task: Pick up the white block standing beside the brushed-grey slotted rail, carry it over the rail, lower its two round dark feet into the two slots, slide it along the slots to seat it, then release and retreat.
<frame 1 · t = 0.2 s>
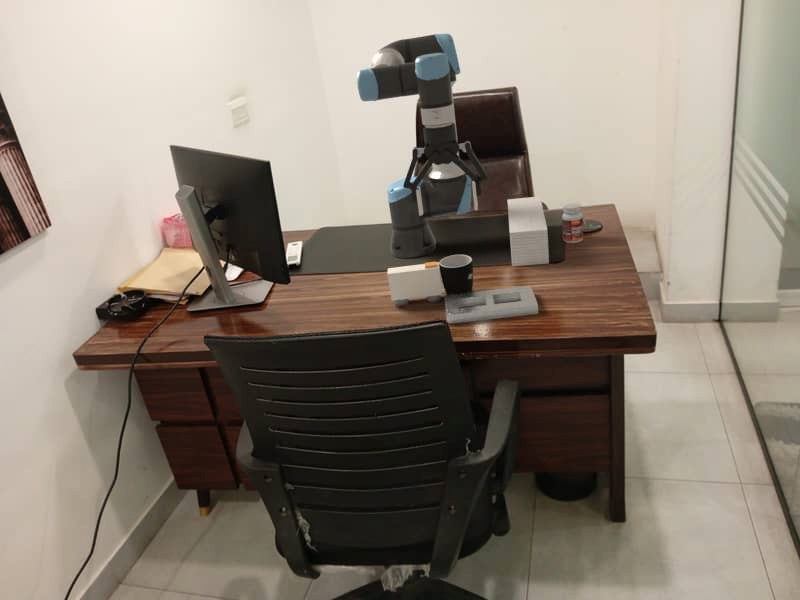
hand: (448, 211, 165), 27 cm above the table, fingers open, 13 cm apart
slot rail: (490, 308, 174), on the table
mug: (460, 293, 186), on the table
stack of papers: (528, 246, 211), on the table
white block: (417, 300, 185), on the table
pill bottle: (573, 240, 209), on the table
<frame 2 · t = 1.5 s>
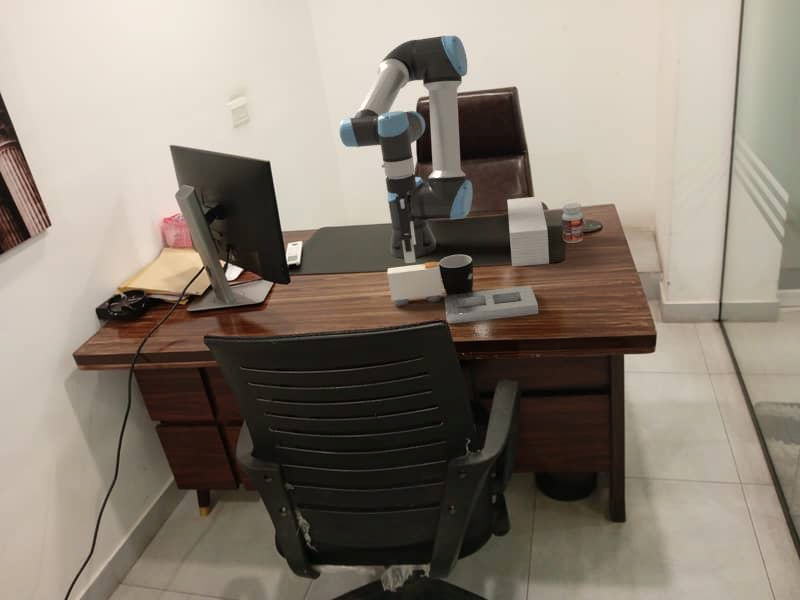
hand: (410, 253, 179), 14 cm above the table, fingers open, 13 cm apart
nothing on the table moved.
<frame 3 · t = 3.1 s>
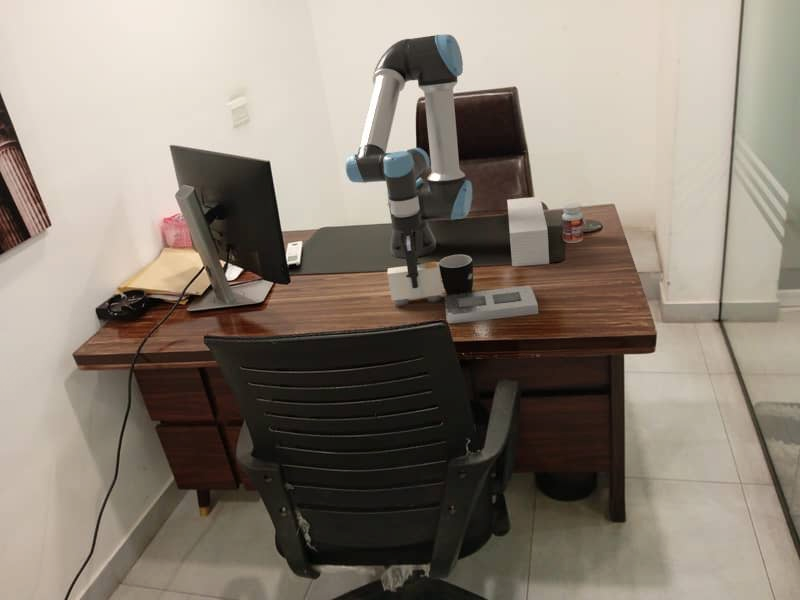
hand: (416, 293, 184), 2 cm above the table, fingers closed on white block, 4 cm apart
white block: (417, 300, 185), on the table, touching gripper
everything else where it was.
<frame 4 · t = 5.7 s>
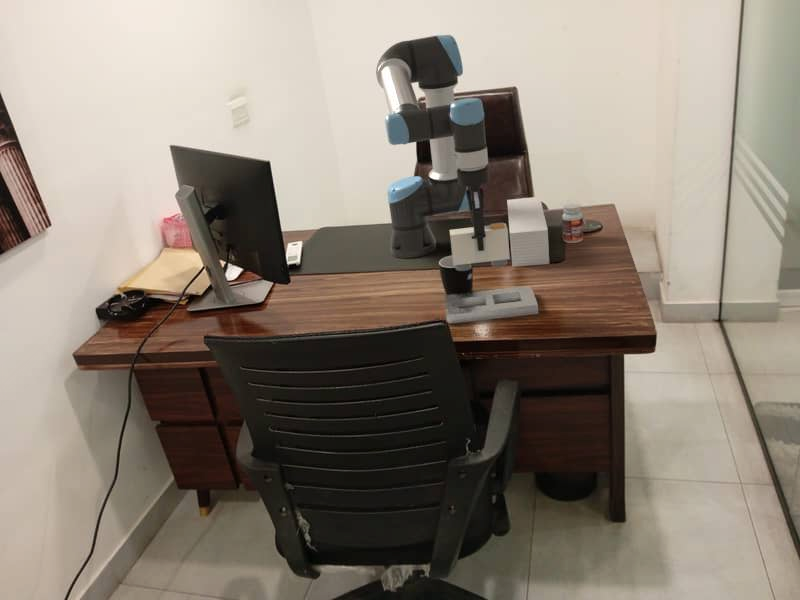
hand: (481, 257, 168), 14 cm above the table, fingers closed on white block, 4 cm apart
white block: (481, 265, 169), point 12 cm above the table, touching gripper
everything else where it was.
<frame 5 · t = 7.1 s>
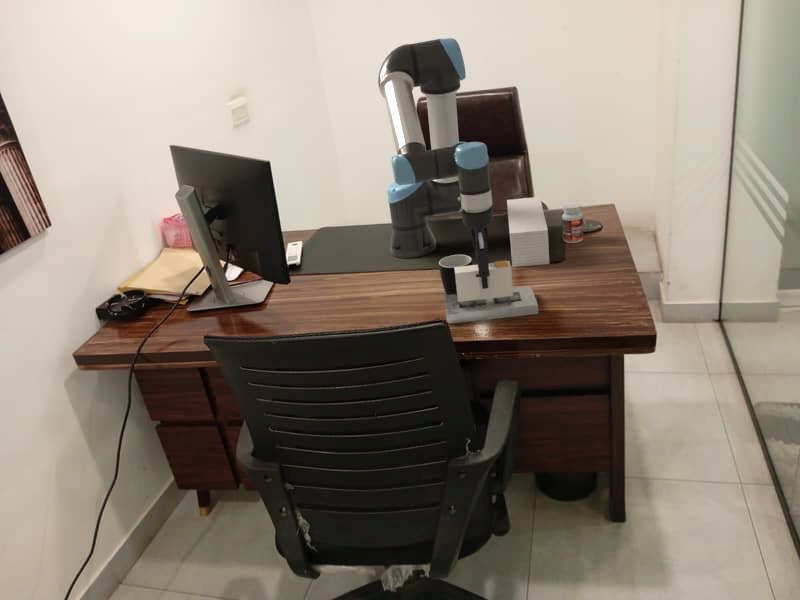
hand: (485, 294, 172), 4 cm above the table, fingers closed on white block, 4 cm apart
white block: (485, 301, 173), point 2 cm above the table, touching gripper
everything else where it was.
when the fingers open (3 cm above the table, at t = 8.2 s): white block stays where it is, resting on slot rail.
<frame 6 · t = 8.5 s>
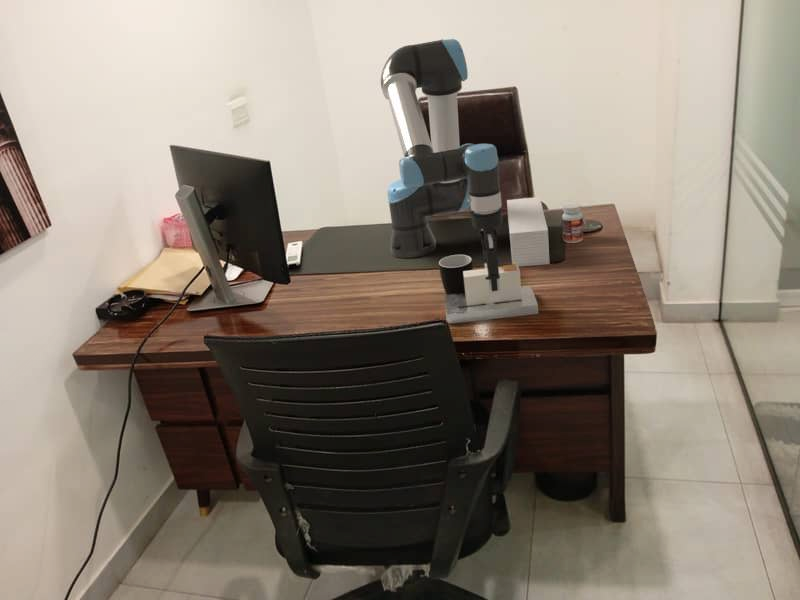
hand: (493, 293, 172), 4 cm above the table, fingers open, 8 cm apart
white block: (494, 305, 174), point 1 cm above the table, touching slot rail
everything else where it was.
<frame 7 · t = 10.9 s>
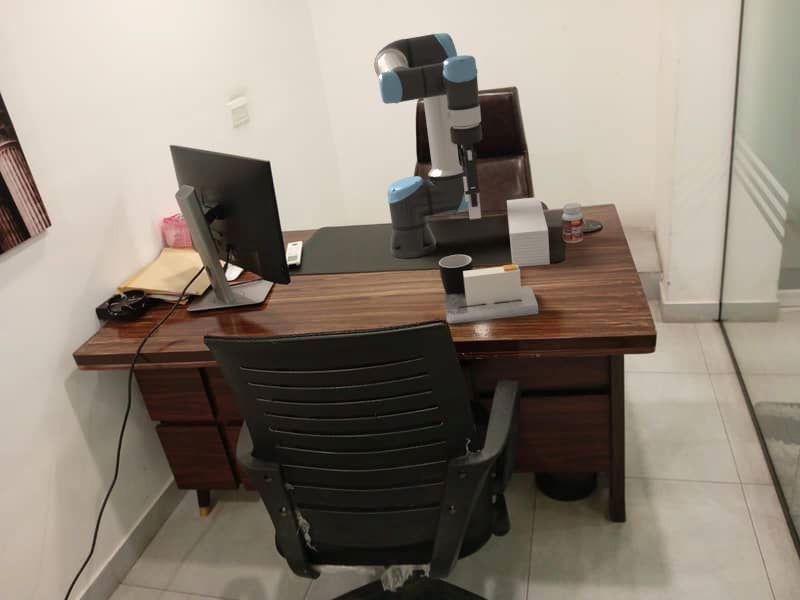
hand: (473, 209, 169), 25 cm above the table, fingers open, 13 cm apart
nothing on the table moved.
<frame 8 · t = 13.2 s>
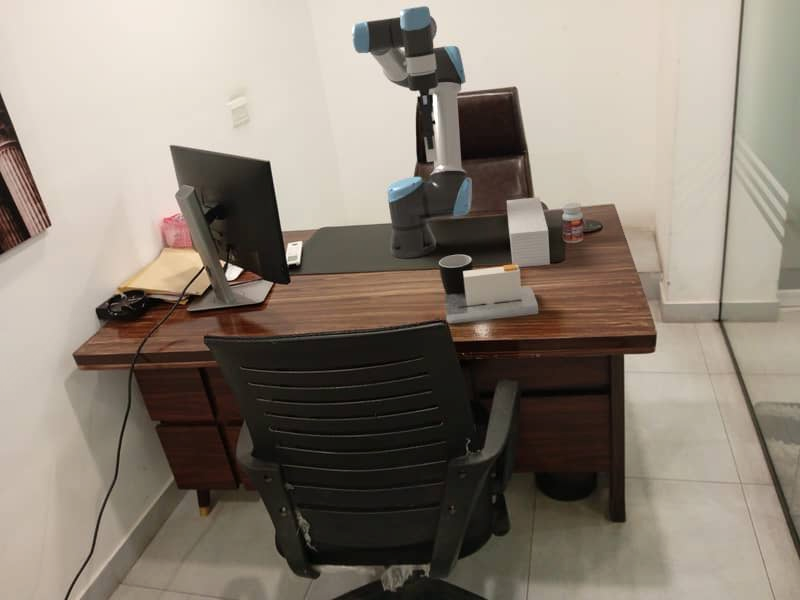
hand: (431, 155, 180), 37 cm above the table, fingers open, 13 cm apart
nothing on the table moved.
at the end: white block 0.4 cm off-centre on the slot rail, point 0.7 cm above the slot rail's base; white block tilted 0°; the gripper is holding nothing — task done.
